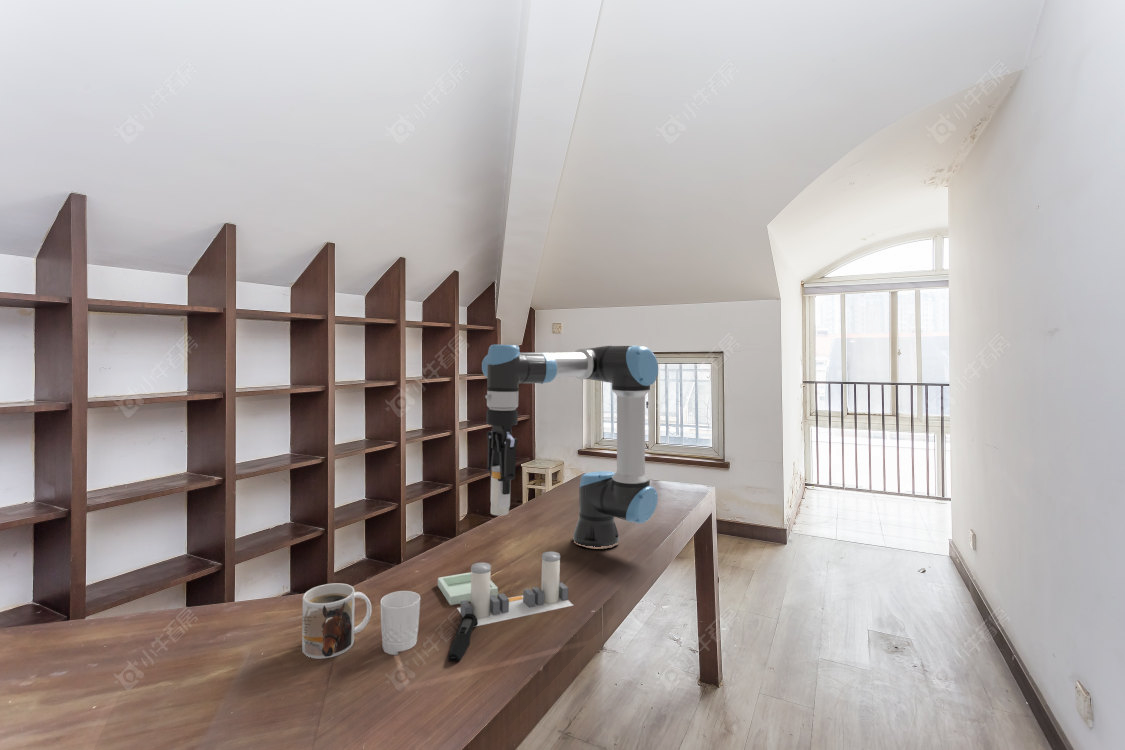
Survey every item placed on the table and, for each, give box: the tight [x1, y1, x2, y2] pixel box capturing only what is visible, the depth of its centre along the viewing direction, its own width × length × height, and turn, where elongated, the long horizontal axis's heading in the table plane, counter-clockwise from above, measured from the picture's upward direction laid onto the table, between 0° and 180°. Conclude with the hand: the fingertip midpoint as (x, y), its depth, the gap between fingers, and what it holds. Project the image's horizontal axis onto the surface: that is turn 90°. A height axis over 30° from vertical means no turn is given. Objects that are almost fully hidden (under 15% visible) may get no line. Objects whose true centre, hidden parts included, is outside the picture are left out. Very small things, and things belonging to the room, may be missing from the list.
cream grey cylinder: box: [540, 551, 561, 604], centre depth 132 cm, size 4×4×11 cm
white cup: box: [379, 590, 421, 656], centre depth 111 cm, size 8×8×10 cm
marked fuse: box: [490, 465, 510, 517], centre depth 130 cm, size 4×4×11 cm
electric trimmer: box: [447, 614, 478, 662], centre depth 112 cm, size 4×16×3 cm, turn 177°
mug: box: [301, 582, 372, 660], centre depth 111 cm, size 10×12×11 cm
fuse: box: [470, 562, 492, 619], centre depth 124 cm, size 4×4×11 cm
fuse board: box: [456, 581, 574, 628], centre depth 128 cm, size 26×10×4 cm, turn 117°
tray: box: [437, 571, 499, 606], centre depth 136 cm, size 12×12×3 cm
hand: (500, 504), depth 130 cm, fingers closed on marked fuse, 4 cm apart
